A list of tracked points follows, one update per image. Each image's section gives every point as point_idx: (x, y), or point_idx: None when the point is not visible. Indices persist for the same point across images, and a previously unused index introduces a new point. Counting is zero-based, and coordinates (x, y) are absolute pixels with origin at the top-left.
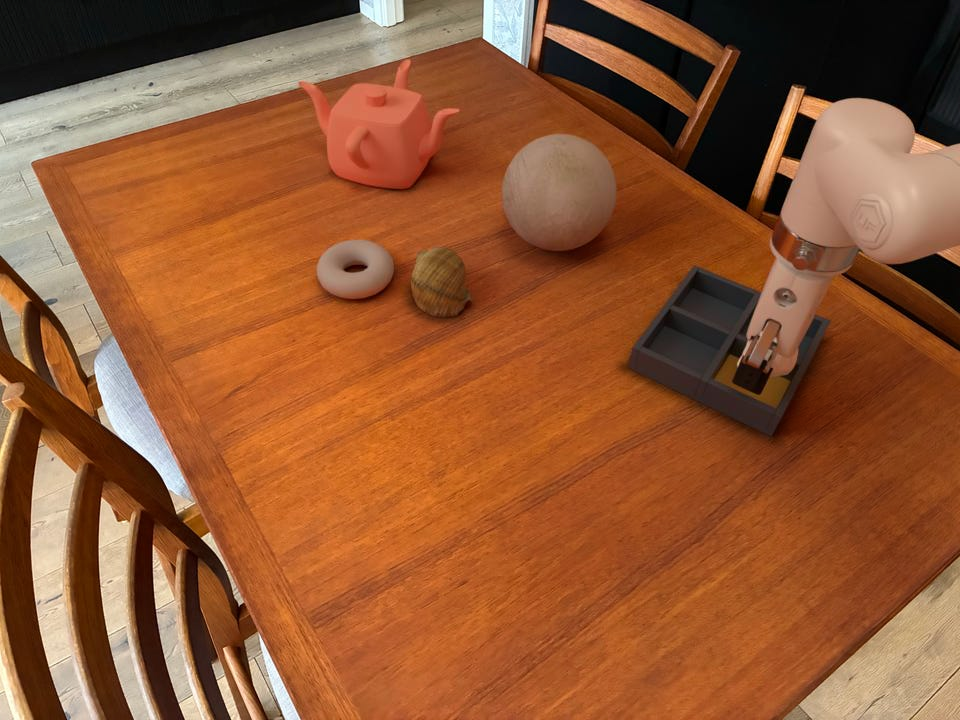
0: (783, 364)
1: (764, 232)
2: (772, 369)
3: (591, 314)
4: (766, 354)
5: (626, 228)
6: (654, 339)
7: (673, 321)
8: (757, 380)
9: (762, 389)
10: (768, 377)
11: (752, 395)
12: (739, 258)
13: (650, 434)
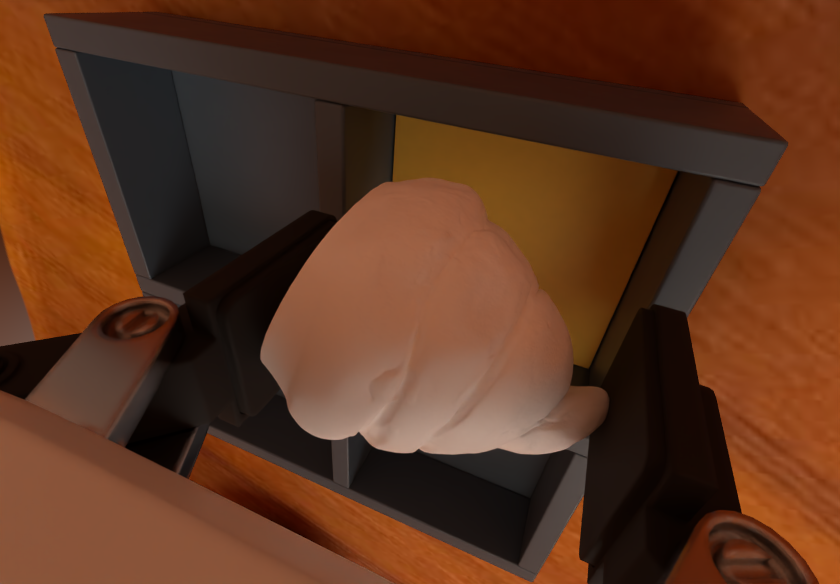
0: (490, 294)
1: (3, 234)
2: (693, 483)
3: (421, 532)
4: (483, 420)
5: (197, 458)
6: (435, 461)
7: (367, 445)
8: (727, 459)
9: (688, 339)
10: (706, 427)
11: (537, 225)
12: (98, 279)
13: (810, 489)
